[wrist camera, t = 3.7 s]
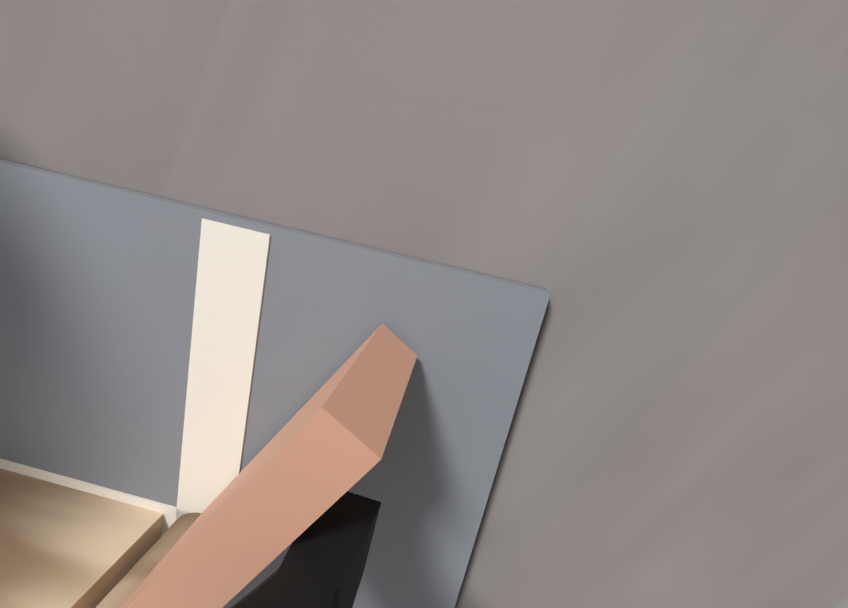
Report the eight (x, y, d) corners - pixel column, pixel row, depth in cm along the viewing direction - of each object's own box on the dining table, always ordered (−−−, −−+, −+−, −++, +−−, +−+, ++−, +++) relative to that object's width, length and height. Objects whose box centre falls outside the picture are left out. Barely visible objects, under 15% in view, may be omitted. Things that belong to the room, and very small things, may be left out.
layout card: (-12, 559, 15) (-30, 572, 15) (-32, 151, 12) (-56, 149, 11) (426, 686, 14) (424, 705, 14) (547, 289, 11) (550, 294, 10)
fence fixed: (-13, 504, 14) (-255, 656, 9) (-15, 451, 13) (-272, 583, 9) (229, 573, 13) (103, 767, 9) (236, 520, 13) (106, 699, 8)
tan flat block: (236, 534, 13) (114, 708, 8) (205, 508, 13) (66, 670, 8) (417, 355, 11) (380, 459, 6) (382, 323, 11) (321, 406, 6)
